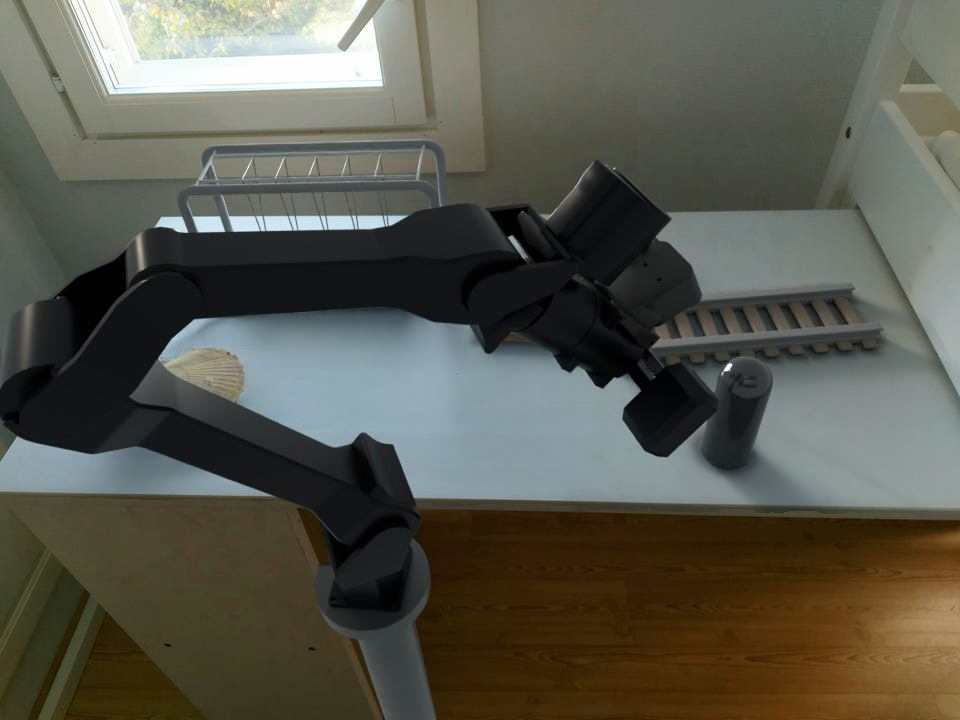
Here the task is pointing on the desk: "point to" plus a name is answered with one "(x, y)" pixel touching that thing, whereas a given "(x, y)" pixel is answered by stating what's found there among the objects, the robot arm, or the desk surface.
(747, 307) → the model train track
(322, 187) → the newton's cradle
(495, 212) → the robot arm
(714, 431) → the dark grey cylinder
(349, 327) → the desk surface
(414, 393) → the desk surface
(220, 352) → the seashell
